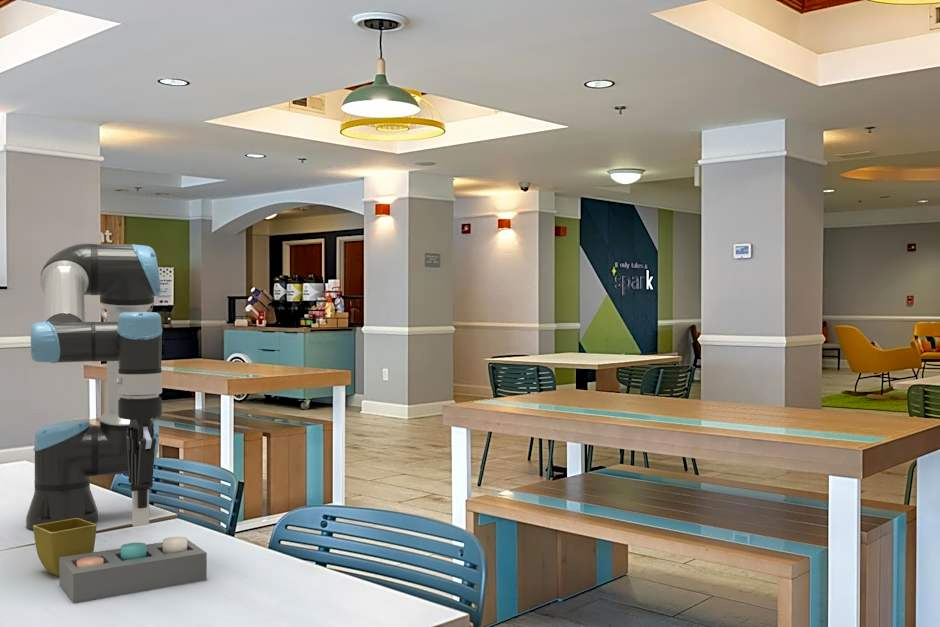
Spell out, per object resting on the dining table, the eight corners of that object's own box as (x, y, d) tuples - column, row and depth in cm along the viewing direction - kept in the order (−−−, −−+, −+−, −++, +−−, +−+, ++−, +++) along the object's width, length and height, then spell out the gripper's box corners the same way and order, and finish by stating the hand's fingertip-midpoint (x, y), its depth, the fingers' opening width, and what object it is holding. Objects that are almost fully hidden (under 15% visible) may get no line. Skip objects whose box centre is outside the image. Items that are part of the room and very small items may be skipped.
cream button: (159, 555, 171) (159, 538, 171) (183, 552, 174) (183, 535, 174) (166, 561, 167) (166, 544, 167) (190, 557, 170) (190, 540, 170)
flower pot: (32, 572, 173) (31, 524, 172) (77, 562, 179) (77, 516, 179) (51, 581, 167) (51, 532, 166) (98, 571, 173) (98, 524, 173)
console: (59, 584, 165) (59, 557, 165) (186, 564, 178) (186, 538, 178) (73, 603, 155) (73, 573, 155) (206, 579, 168) (206, 552, 168)
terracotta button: (74, 577, 163) (74, 559, 162) (100, 572, 165) (100, 555, 165) (79, 583, 159) (79, 565, 159) (106, 579, 161) (106, 561, 161)
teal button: (118, 562, 167) (118, 544, 167) (142, 558, 169) (142, 541, 169) (124, 568, 163) (124, 550, 163) (149, 564, 166) (149, 546, 166)
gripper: (110, 394, 170) (111, 520, 170) (127, 400, 159) (127, 535, 159) (152, 392, 174) (152, 515, 174) (170, 398, 163) (170, 529, 163)
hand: (140, 524), depth 167 cm, fingers closed
